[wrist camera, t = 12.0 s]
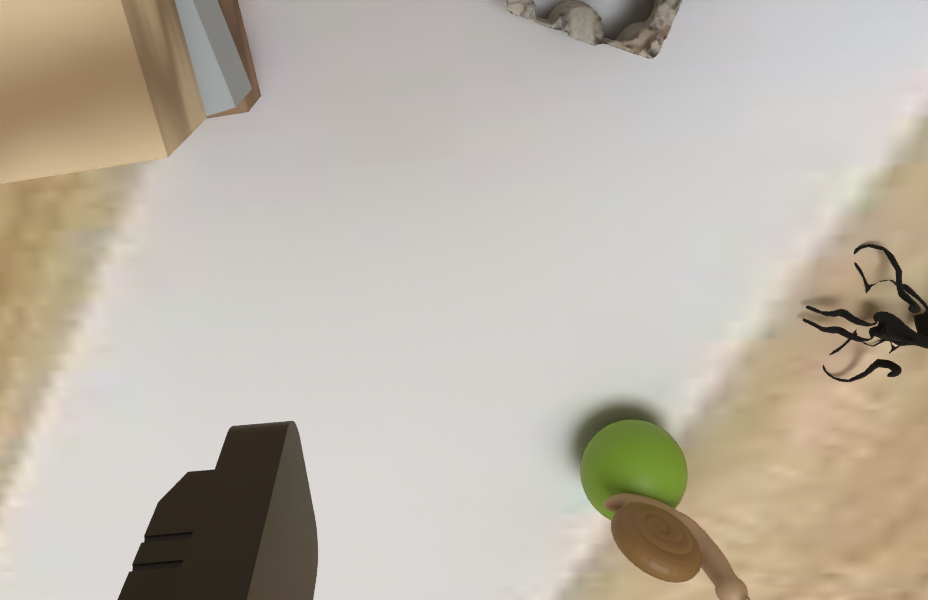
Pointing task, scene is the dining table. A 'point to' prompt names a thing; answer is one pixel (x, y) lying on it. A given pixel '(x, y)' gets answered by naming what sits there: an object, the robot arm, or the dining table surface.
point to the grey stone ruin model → (590, 29)
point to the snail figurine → (652, 505)
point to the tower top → (213, 55)
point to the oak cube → (92, 85)
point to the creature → (883, 323)
